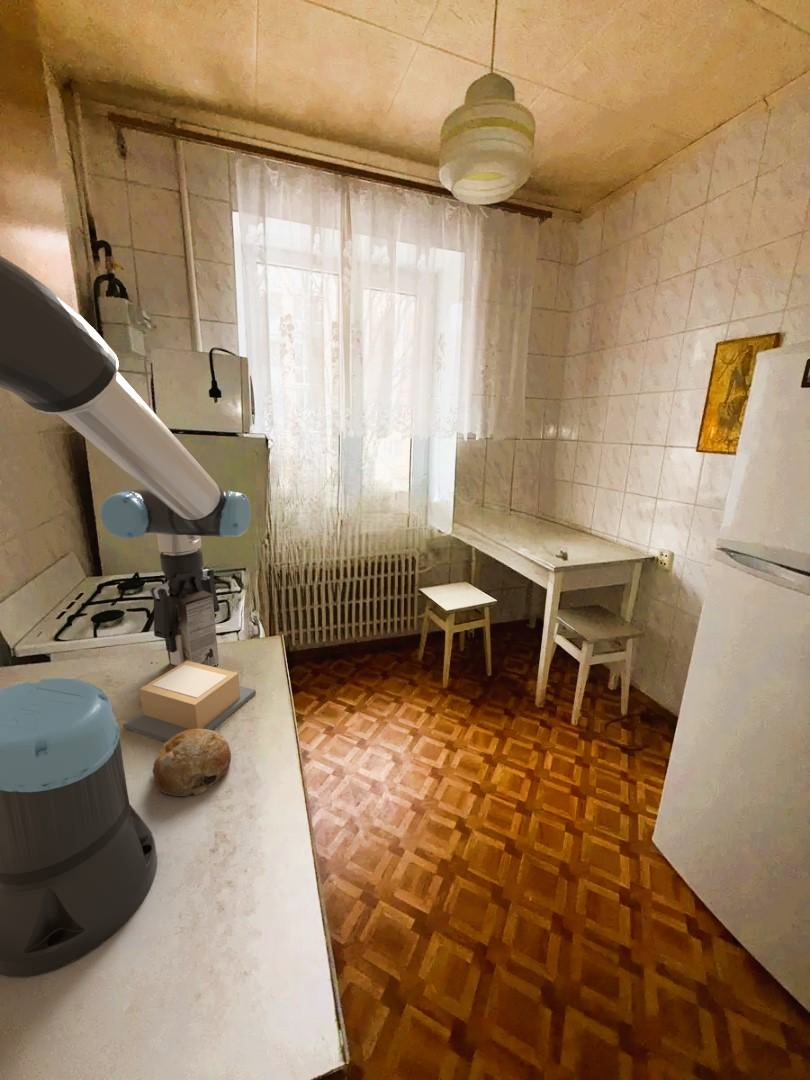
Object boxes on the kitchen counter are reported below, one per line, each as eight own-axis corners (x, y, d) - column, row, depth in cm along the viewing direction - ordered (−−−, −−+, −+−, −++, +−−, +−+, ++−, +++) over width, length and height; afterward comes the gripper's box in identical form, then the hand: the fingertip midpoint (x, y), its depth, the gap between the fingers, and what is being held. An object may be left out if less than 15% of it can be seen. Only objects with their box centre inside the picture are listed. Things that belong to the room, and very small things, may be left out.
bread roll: (171, 826, 60) (178, 795, 56) (137, 767, 64) (141, 735, 60) (237, 781, 67) (247, 751, 63) (202, 731, 72) (209, 701, 68)
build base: (188, 749, 69) (184, 716, 67) (123, 727, 73) (118, 696, 72) (255, 693, 83) (253, 665, 82) (197, 678, 88) (194, 651, 86)
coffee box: (167, 663, 93) (158, 592, 89) (196, 651, 98) (188, 583, 94) (191, 677, 88) (182, 602, 84) (220, 664, 93) (213, 592, 89)
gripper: (150, 567, 76) (166, 683, 82) (232, 540, 95) (240, 637, 100) (119, 562, 79) (136, 675, 85) (204, 536, 97) (214, 631, 103)
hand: (193, 654), depth 92 cm, fingers closed on coffee box, 7 cm apart
